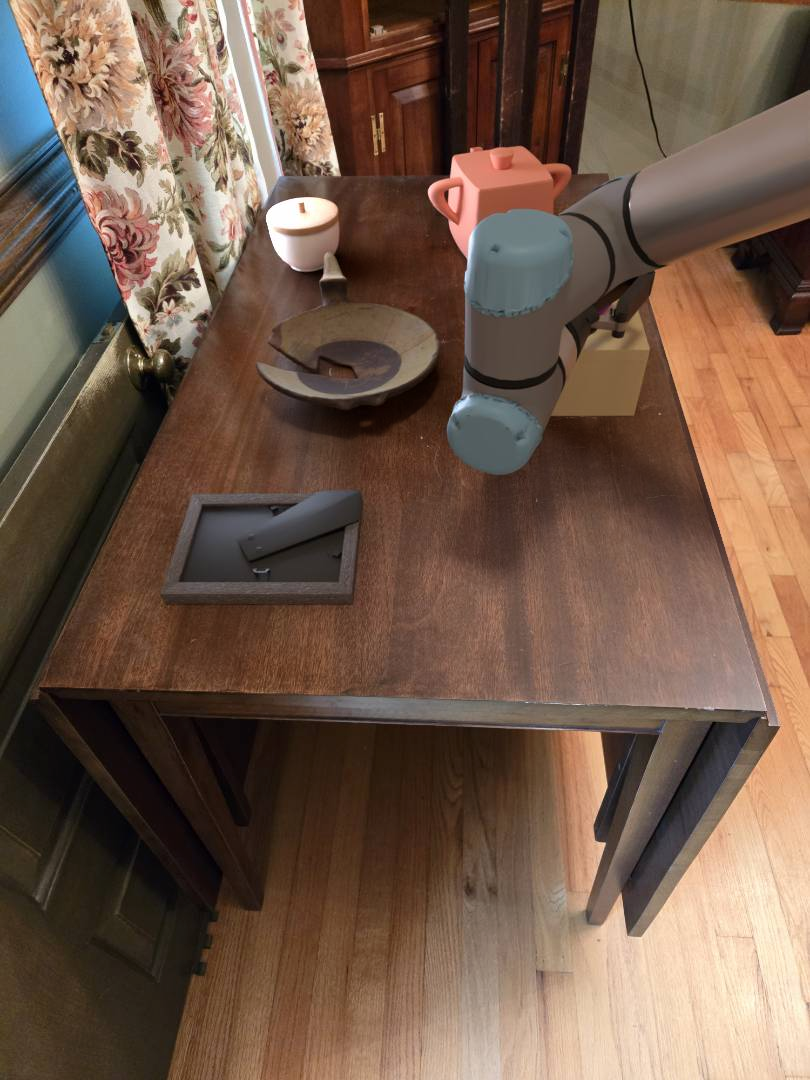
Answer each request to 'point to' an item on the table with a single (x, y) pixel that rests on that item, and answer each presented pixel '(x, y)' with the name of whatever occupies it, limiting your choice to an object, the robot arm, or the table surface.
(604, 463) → the table surface
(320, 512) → the picture frame
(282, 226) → the white lidded sugar bowl
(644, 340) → the tan cardboard box
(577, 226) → the robot arm
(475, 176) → the pink ceramic boxy vessel
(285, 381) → the grey frying pan
